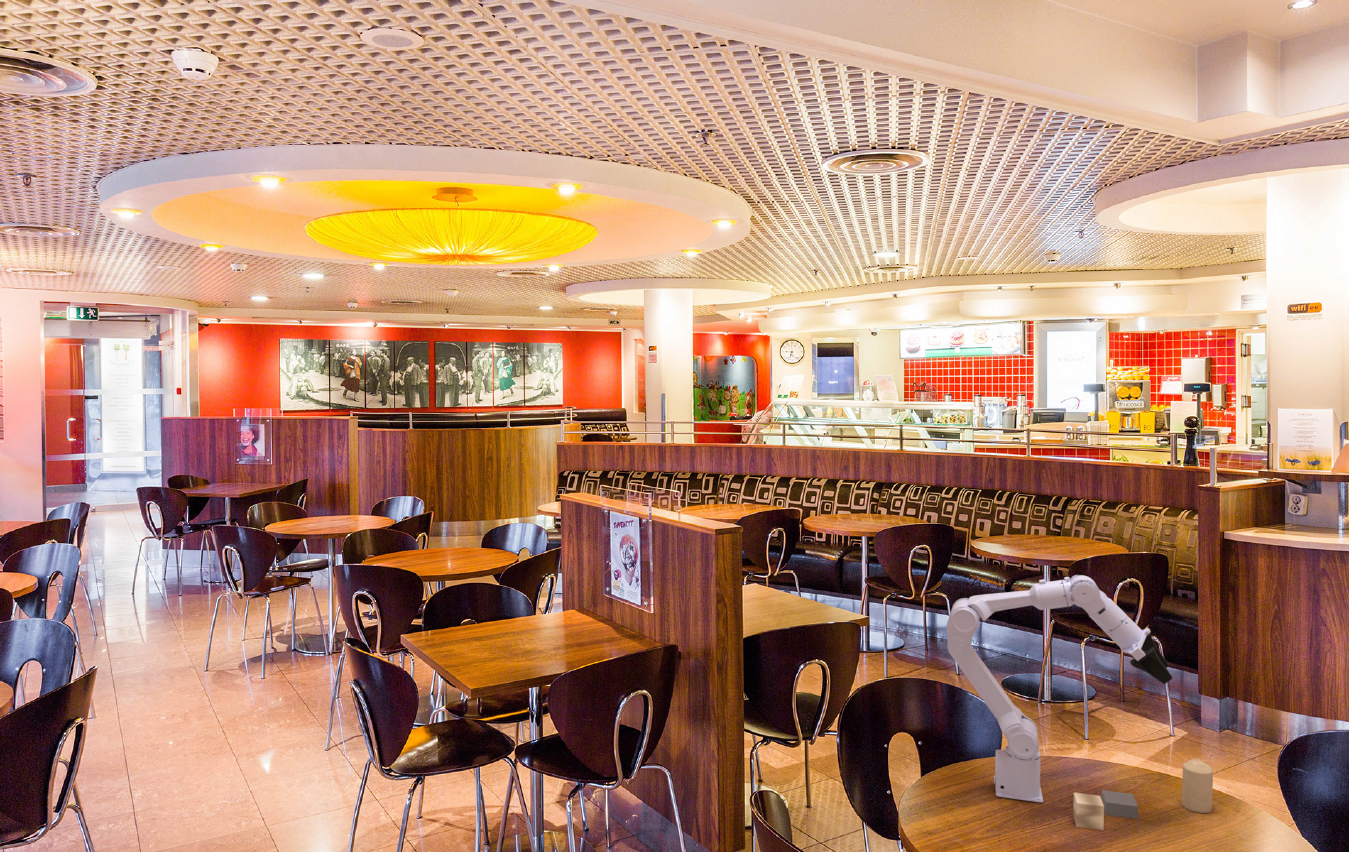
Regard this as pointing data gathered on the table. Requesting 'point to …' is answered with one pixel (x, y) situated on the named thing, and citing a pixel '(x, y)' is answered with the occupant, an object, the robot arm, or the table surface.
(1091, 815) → the beech cube
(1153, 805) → the table surface
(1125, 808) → the gray block
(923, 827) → the table surface
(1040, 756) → the robot arm
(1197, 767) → the candle
